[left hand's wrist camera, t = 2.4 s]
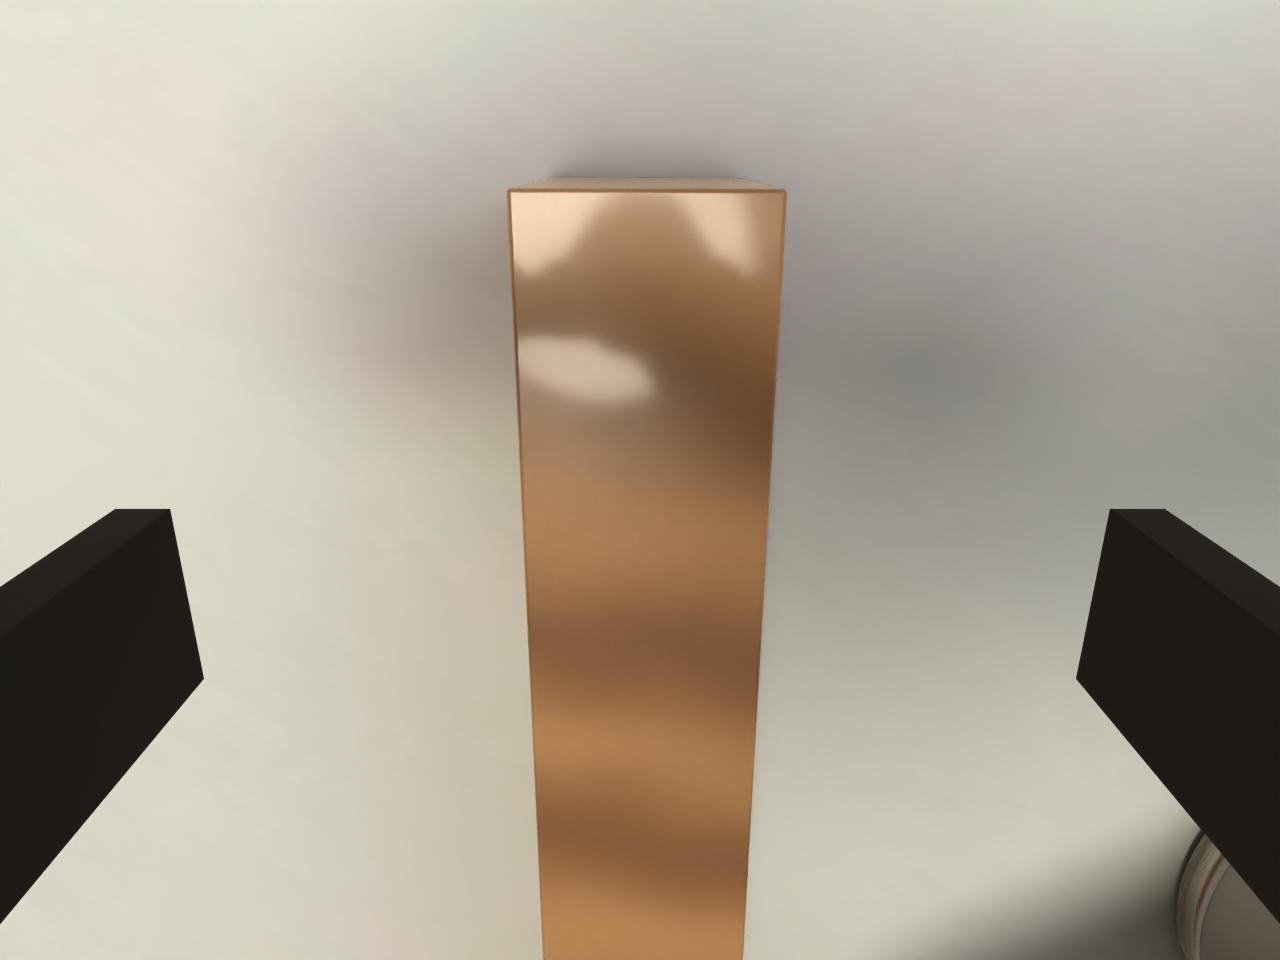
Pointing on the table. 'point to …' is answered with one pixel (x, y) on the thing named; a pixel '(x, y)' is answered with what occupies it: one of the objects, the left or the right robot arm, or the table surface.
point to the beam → (645, 547)
